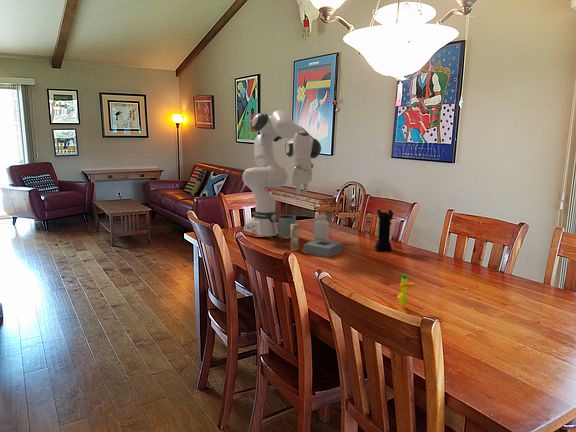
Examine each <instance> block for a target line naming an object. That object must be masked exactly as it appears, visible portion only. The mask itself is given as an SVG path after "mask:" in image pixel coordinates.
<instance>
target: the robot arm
mask: <svg viewBox="0 0 576 432" xmlns="http://www.w3.org/2000/svg"><path fill="white" fill-rule="evenodd" d="M251 128H252V129H253V130H254V131H256V132H258V133H260V134H257V136H256V137H255V138H254V143H253V152H254V153H253V154H254V162H255V164H256V165H257V166H258V167H255V166H254V167H250V168H246V169H245V170H244V171H243V173H242V177H241V178H242V182H243V183H244V185H245V186H246V187H248V188H249V189H250V190H251V192H252V194H253V196H254V200H255V211H253V212H251V213H252V215H253V217H251V218H250V219H249V220H247V221H246V222H245V224H244V227H243V230H244V231H247V232H251V233H254V234H257V235H260V236H274V235H277V234H278V228H277V224H276V223H277V222H276V220H277V219H276V218H277V211H276V198H275V196H274V195H273V194H272V193H269V192H267V191H266V190H265V188H278V187H282V186H286V185H287V183H288V181H289V174H288V173H289V172H288V171H287V170H286V169H285V168H284V167H282V166H280V165H279V164H278V163H277V161H276V160H275V156H274V147H273V142H276V143H277V142H278V141H281V140H282V139H288V140H287V141H286V143H285V144H284V152H285V154H286V156H287V157H289V158H291V159H292V161H293V163H292V164H293V167H292V168H293V170H292V173H291V175H292V176H291V183H292V186H295V190H296V194H298V195H301V194H302V192H304V193H306V192H307V191H308V187H309V183H311V182H312V178H313V177H312V176H313V168H314V163H312V159H317V158H318V156H319V155H320V154H321V153H322V152H321V151H322V144H321V143H320V142H319V140H318V139H317V138H314V137H313V136H312V135H311V134H310V133H309V132H308V131H307V130H306V129H305V128H303V127H302V126H301V125H298V124H297V123H296V122H294V121H293V120H292V119H291V117H290V116H289V115H288V114H287V113H286V112H285V111H284V110H282V109H278V110H277V109H276V110H275V111H273V112H272V114H271V115H268V114H267V113H263V112H262V113H261V112H260V113H259V112H258V113H256V114H255V115H254V116H253V117H252V121H251ZM301 185H303V188H302V190H301Z"/></svg>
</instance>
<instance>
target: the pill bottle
mask: <svg viewBox="0 0 576 432" xmlns="http://www.w3.org/2000/svg"><path fill="white" fill-rule="evenodd" d="M329 227H330V223H329V221H328V220H327V215H326V214H317V215H316V220H314V222H313V238H312V241H314V240H317V239H323V240H329Z"/></svg>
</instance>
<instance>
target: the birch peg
mask: <svg viewBox="0 0 576 432" xmlns="http://www.w3.org/2000/svg"><path fill="white" fill-rule="evenodd" d="M299 226H300V225H299V224H298V223H295V224H291V239H290V245H289V247H290V248H291V249H298V250H299V235H300V234H299V232H300V230H299V229H300V227H299ZM290 248H289V249H290Z"/></svg>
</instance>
